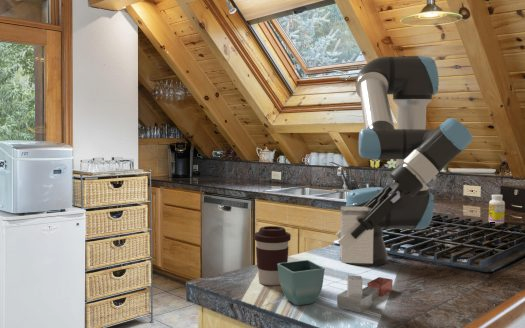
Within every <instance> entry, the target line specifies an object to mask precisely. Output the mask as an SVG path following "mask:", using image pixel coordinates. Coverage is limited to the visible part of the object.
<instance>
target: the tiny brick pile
mask: <svg viewBox="0 0 525 328" xmlns="http://www.w3.org/2000/svg"><path fill="white" fill-rule="evenodd" d="M346 282H347V284H346V285H347V287H346V290H344V291H342V292H340V293H338V294H337V296H336V308H337V307H339V308H338V309H341V308H344V309H343V310H346V309H347V310H346V311H350V310H352V311H351V312H354V311H355V312H354V313H358V312H359V313H358V314H361V313H363V312H364V311H366V310H368V309H369V308H371V307H372V302H373V301H375V300H376V299H378V298H380V297H383V296H385V295H386V294H388V293H390V292H391V291H393V279H391V278H386V277H380V276H378V277H377V278H374V279H373V280H371V281H369V282H367V286H365V287H363V277H362V276H361V275H347V281H346Z"/></svg>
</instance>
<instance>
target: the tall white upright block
mask: <svg viewBox="0 0 525 328" xmlns="http://www.w3.org/2000/svg"><path fill="white" fill-rule="evenodd" d="M371 209H372V208H371V207H352V206H346V205H345V206H344V205H343V206H342V205H341V206H340V218H339V219H340V221H339V222H340V225H339V226H340V227H339V231H340V238H341V237H343V236H344V235H345V234H346V233H347V232H348V231H349V230H350V229H351V228H352V227H353V226H354V225H355V224H356V223H357V222H358V221H357V220H358V219H361V220H362V219H363V218H364V217H365V216H366V215H367V214H368V213H369V212H370V210H371ZM373 229H374V228H373ZM373 229H372V230H370V229H369V230H367V231H366V232H365V233H364V234H363V235H362V236H361V237H360V238H359V239H358V240H357V241H356V242H355V243H353V244H352V245H351V246H350V247H349V248H348V249H347V250H345V249H344V248H343V247H342V246H341V245H340V244H339V259H340V258H341V260H340V262H341V263H344V264H349V263H373Z"/></svg>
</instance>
